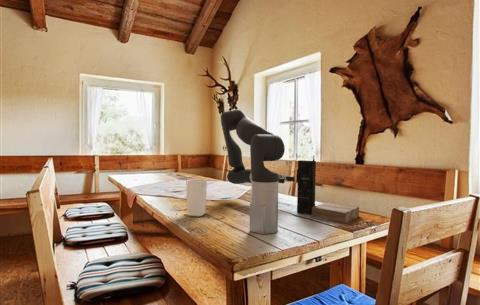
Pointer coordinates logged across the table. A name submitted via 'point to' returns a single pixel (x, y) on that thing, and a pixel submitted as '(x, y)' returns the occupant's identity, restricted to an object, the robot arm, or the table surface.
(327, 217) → the walnut stand
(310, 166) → the portable radio
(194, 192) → the cup
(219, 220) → the table surface
